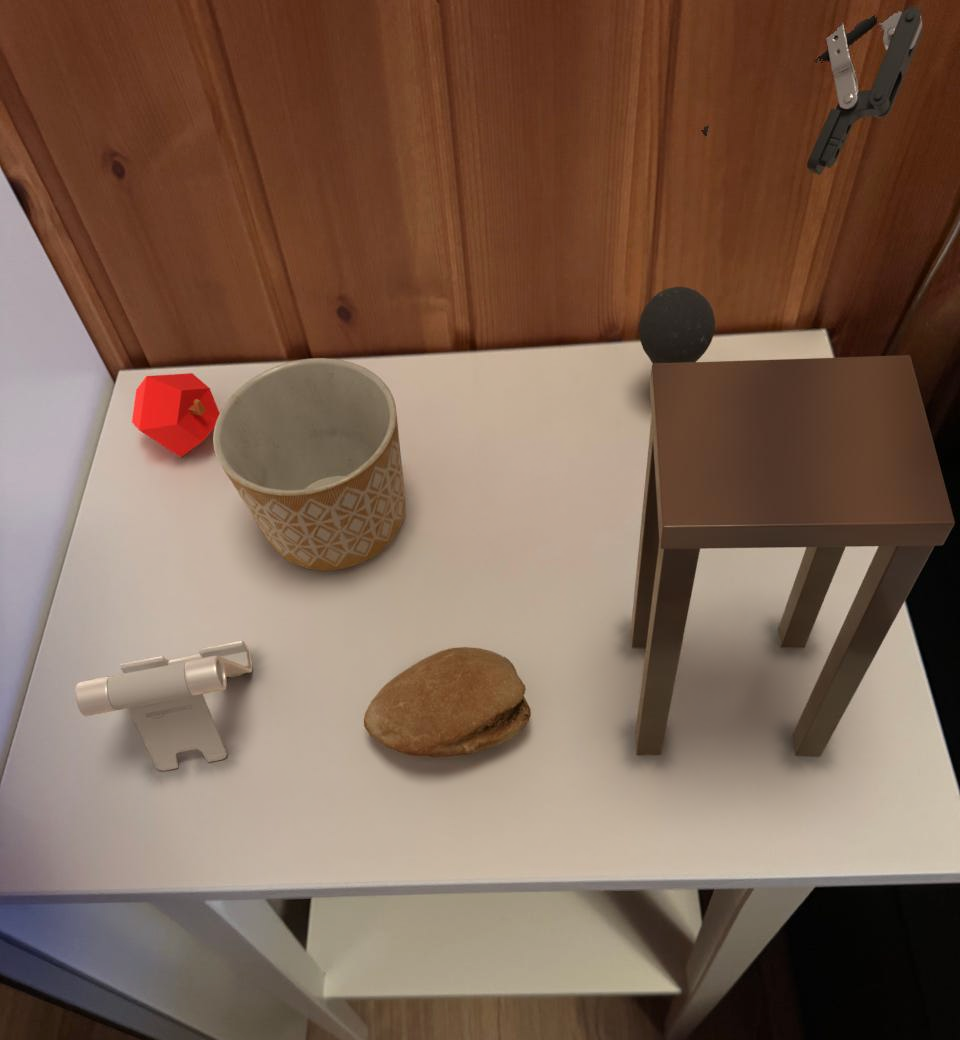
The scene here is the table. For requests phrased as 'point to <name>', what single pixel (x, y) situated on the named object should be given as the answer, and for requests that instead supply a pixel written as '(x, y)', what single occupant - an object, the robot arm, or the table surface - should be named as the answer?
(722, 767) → the table surface
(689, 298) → the light bulb
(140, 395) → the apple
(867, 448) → the walnut stand
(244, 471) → the planter
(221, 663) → the tablet stand
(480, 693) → the stone
